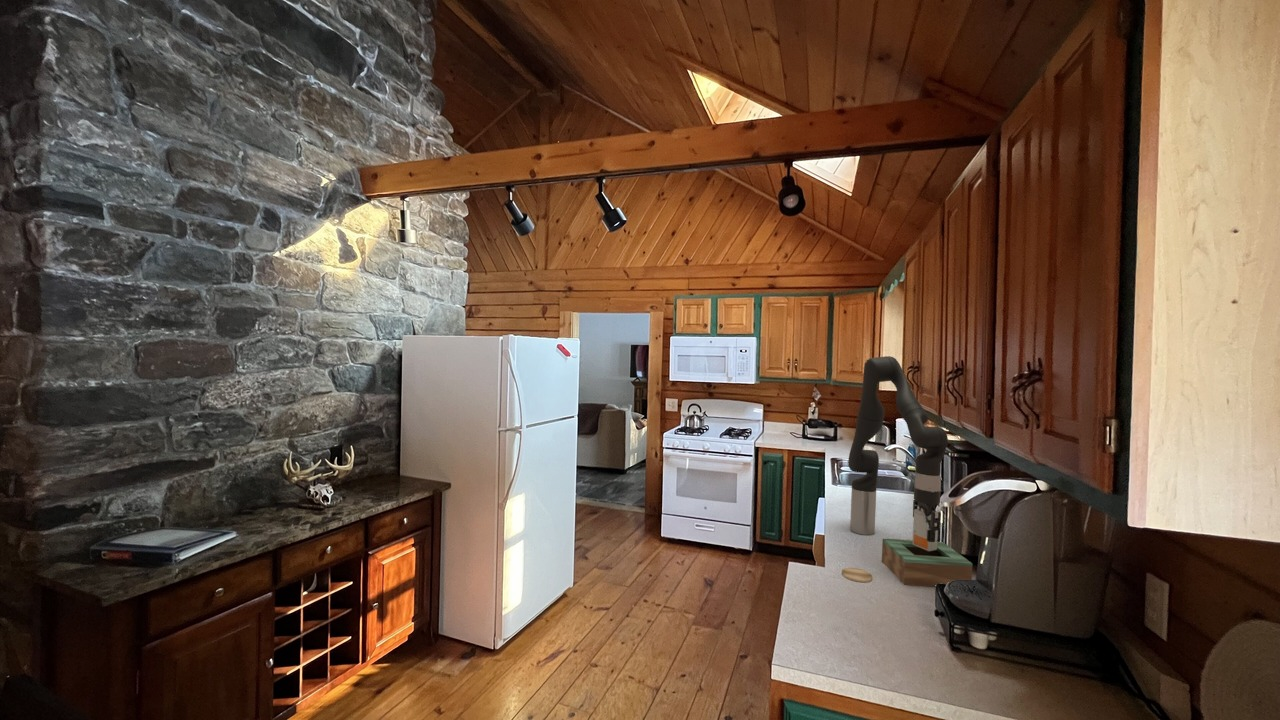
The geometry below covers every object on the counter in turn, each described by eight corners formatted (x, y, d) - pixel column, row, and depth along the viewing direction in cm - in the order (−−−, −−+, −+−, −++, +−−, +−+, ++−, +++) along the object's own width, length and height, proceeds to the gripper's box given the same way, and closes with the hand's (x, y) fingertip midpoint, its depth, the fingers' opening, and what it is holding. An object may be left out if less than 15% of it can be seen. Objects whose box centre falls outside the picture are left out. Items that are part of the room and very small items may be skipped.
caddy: (881, 561, 177) (882, 538, 177) (941, 565, 175) (942, 542, 175) (904, 584, 159) (905, 559, 159) (971, 589, 157) (972, 563, 157)
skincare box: (911, 545, 169) (913, 509, 169) (920, 543, 171) (922, 507, 171) (928, 551, 163) (930, 514, 163) (937, 550, 165) (939, 513, 165)
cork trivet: (838, 569, 169) (838, 566, 169) (866, 571, 168) (866, 568, 168) (847, 581, 160) (847, 578, 160) (876, 583, 159) (876, 580, 159)
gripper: (905, 481, 174) (903, 529, 174) (925, 492, 160) (923, 544, 160) (928, 482, 174) (926, 530, 174) (950, 493, 159) (948, 546, 160)
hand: (925, 537), depth 167 cm, fingers closed on skincare box, 7 cm apart
